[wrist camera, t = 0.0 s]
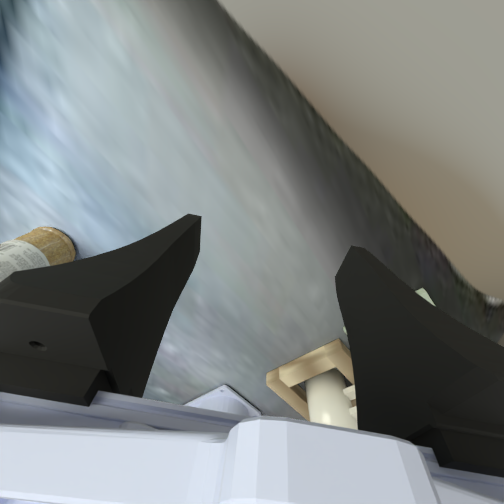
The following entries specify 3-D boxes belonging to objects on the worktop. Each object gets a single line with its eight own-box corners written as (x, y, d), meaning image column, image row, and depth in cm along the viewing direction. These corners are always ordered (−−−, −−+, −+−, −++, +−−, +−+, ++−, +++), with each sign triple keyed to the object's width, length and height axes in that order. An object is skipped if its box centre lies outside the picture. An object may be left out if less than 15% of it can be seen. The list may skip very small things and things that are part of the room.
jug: (317, 396, 33) (329, 458, 27) (296, 376, 31) (303, 437, 25) (364, 377, 31) (388, 440, 25) (344, 355, 29) (364, 416, 23)
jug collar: (311, 413, 35) (313, 425, 33) (266, 373, 31) (266, 384, 30) (381, 386, 31) (386, 399, 30) (338, 338, 28) (342, 349, 27)
